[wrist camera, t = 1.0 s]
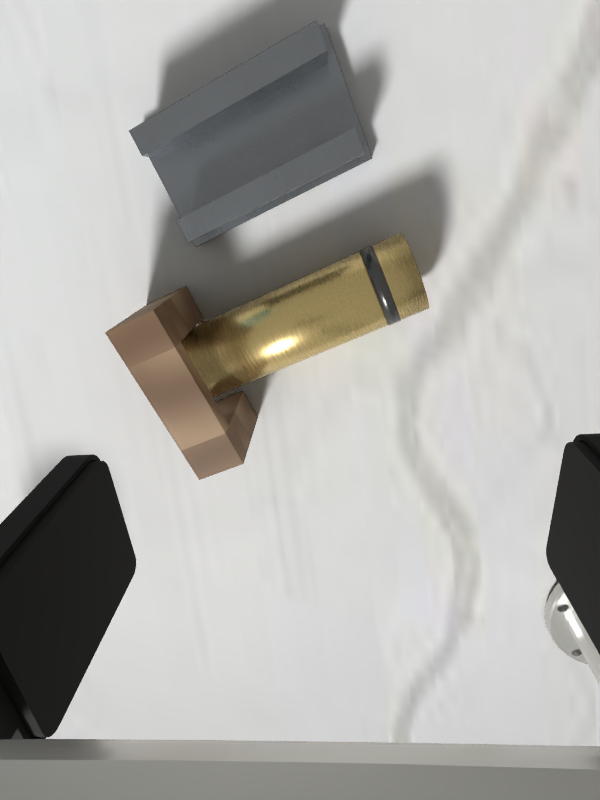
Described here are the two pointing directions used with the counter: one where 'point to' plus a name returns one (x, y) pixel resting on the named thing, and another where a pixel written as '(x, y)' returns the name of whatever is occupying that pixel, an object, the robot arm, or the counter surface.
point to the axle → (308, 316)
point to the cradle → (256, 136)
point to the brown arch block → (183, 385)
